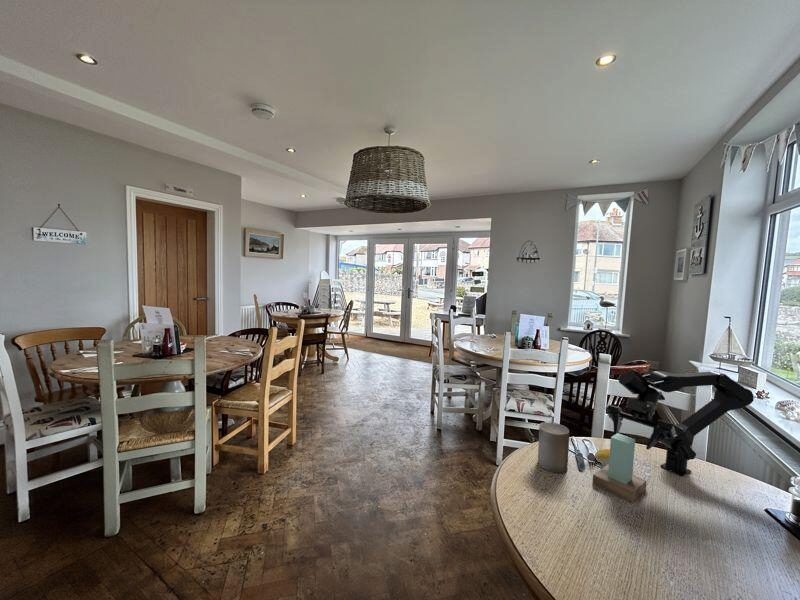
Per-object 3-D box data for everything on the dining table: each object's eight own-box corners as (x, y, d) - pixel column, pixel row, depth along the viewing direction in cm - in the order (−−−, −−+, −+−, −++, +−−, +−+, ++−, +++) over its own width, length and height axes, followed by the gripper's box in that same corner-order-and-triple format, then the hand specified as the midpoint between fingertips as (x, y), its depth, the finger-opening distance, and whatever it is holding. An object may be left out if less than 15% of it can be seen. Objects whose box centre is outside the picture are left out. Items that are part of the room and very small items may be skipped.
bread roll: (623, 461, 121) (624, 451, 121) (618, 471, 115) (619, 460, 114) (597, 452, 127) (598, 442, 127) (591, 461, 120) (592, 451, 120)
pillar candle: (570, 465, 117) (573, 424, 116) (562, 477, 110) (565, 433, 109) (542, 455, 124) (544, 416, 123) (533, 466, 116) (535, 424, 115)
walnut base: (607, 472, 113) (608, 464, 113) (645, 489, 105) (646, 480, 104) (592, 483, 107) (593, 474, 107) (631, 502, 98) (632, 493, 98)
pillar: (614, 471, 109) (617, 433, 108) (632, 479, 105) (635, 439, 104) (607, 476, 106) (610, 437, 105) (625, 484, 102) (628, 443, 101)
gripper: (609, 382, 118) (593, 419, 112) (675, 398, 103) (660, 442, 97) (617, 399, 123) (602, 435, 117) (681, 417, 108) (667, 460, 102)
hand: (630, 442), depth 108 cm, fingers open, 9 cm apart
